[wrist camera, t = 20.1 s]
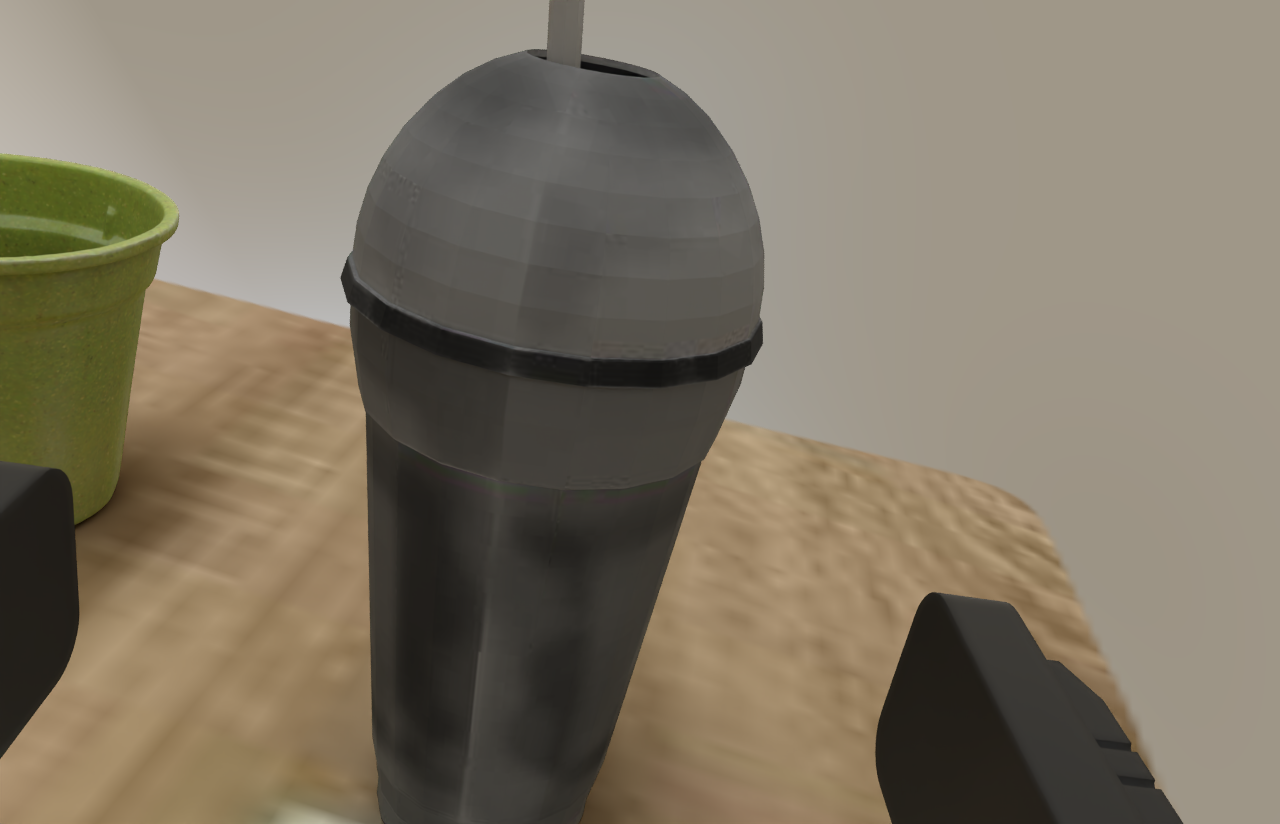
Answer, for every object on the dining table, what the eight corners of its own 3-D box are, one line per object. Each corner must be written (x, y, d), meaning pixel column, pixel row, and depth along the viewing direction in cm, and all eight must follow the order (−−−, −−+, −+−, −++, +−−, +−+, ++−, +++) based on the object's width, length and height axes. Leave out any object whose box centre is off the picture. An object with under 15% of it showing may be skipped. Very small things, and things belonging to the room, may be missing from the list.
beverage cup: (712, 815, 23) (991, -198, 15) (453, 1014, 18) (667, -376, 10) (503, 645, 27) (633, -221, 19) (242, 766, 22) (269, -355, 14)
